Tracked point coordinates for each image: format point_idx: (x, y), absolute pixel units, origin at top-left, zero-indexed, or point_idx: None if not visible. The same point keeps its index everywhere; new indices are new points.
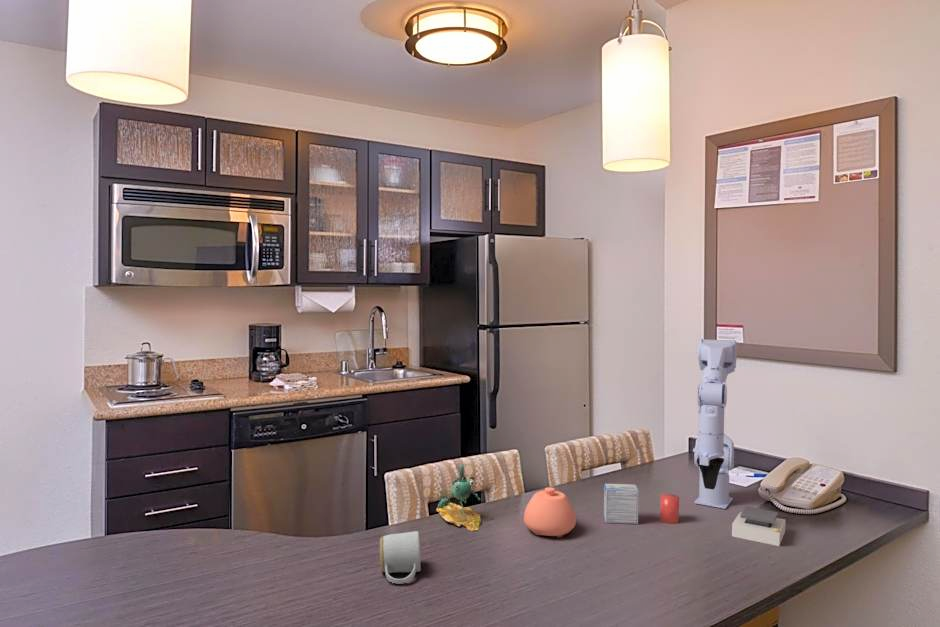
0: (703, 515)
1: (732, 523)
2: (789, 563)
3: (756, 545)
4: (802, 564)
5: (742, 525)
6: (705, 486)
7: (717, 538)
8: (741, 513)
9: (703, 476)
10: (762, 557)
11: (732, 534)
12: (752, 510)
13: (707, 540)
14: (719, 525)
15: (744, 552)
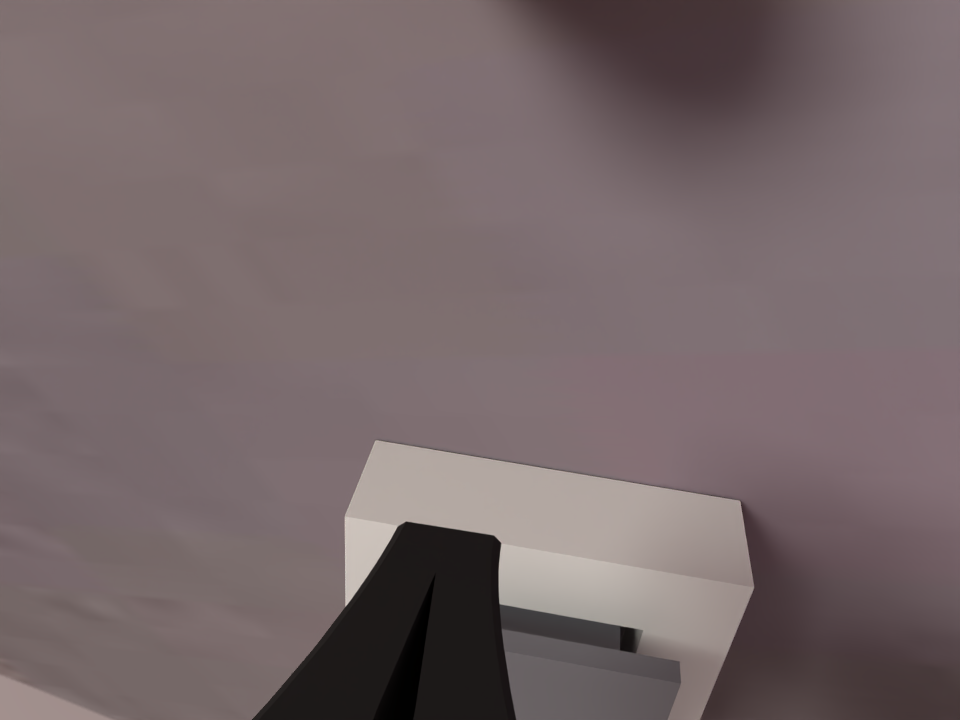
0: (879, 193)
1: (353, 518)
2: (147, 669)
3: (302, 563)
4: (180, 711)
5: (348, 578)
6: (392, 550)
7: (263, 345)
8: (683, 590)
9: (287, 696)
10: (126, 576)
11: (372, 454)
12: (577, 711)
13: (163, 276)
14: (604, 353)
15: (126, 499)
